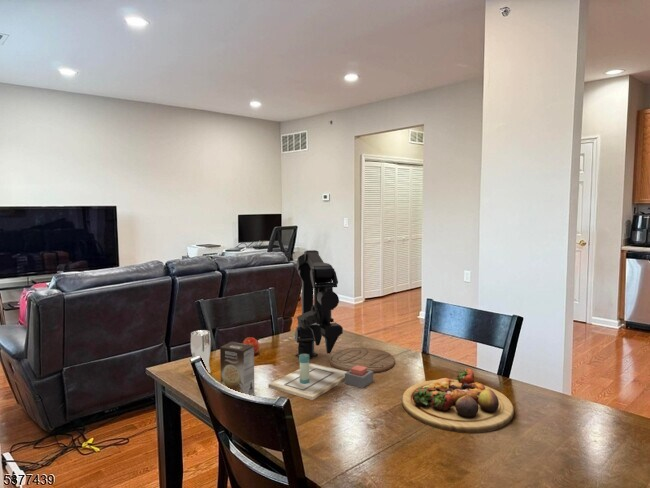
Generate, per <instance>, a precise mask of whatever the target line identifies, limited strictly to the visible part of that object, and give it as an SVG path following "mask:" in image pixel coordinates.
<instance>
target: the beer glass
mask: <svg viewBox="0 0 650 488" xmlns="http://www.w3.org/2000/svg"><path fill="white" fill-rule="evenodd" d="M211 338H212V337H211V331H210V330H207V329H200V330H199V329H198V330H194V331H191V332H190V352H191V355H192V357H191V358H193V357H196V356H201V358H202V360H203V362H204V364H205V366H206V369H207V370H208V372H209V373H210V374H211V367H210V357H211V351H212V340H211ZM192 375H193V376H194V373H193V372H192Z"/></svg>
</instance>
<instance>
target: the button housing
mask: <svg viewBox="0 0 650 488" xmlns="http://www.w3.org/2000/svg"><path fill="white" fill-rule="evenodd" d="M373 382H374V374H373V371H370V370H367V373H366V374H365V375H363V376H359V375H355V374H351V370H350V371H348V372H346V373H345V380H344V384H346V385H348V386H352V387H356V388H357V387H358V388H360V389H364V388H366V387H367V386H369V385H370V384H372V383H373Z"/></svg>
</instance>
